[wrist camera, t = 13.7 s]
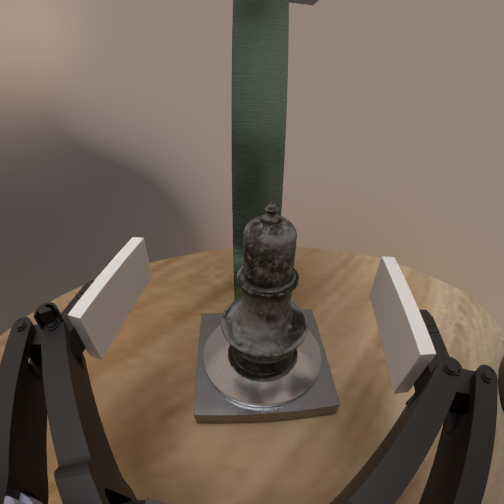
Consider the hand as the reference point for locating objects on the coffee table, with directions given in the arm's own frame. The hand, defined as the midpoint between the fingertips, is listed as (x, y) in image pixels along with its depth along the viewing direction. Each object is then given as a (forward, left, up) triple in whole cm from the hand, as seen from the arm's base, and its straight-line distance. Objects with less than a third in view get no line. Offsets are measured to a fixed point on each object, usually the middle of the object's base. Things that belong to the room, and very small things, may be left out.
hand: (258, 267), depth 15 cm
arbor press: (-1, -4, -11) cm, 11 cm away
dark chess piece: (-1, -1, -9) cm, 9 cm away
